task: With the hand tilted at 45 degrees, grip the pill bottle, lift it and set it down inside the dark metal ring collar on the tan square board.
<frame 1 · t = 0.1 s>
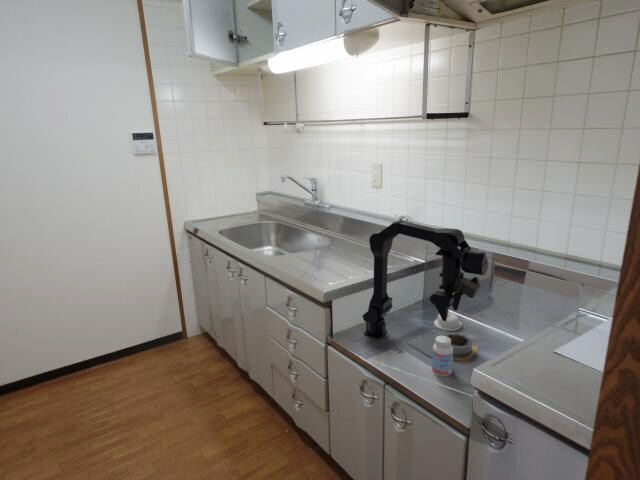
hand: (450, 315, 130), 15 cm above the worktop, tool pointing down, fingers open, 9 cm apart
mechanical component: (447, 326, 154), on the worktop
tan square board: (455, 351, 136), on the worktop
pill bottle: (442, 372, 125), on the worktop
ring collar: (455, 349, 136), resting on tan square board
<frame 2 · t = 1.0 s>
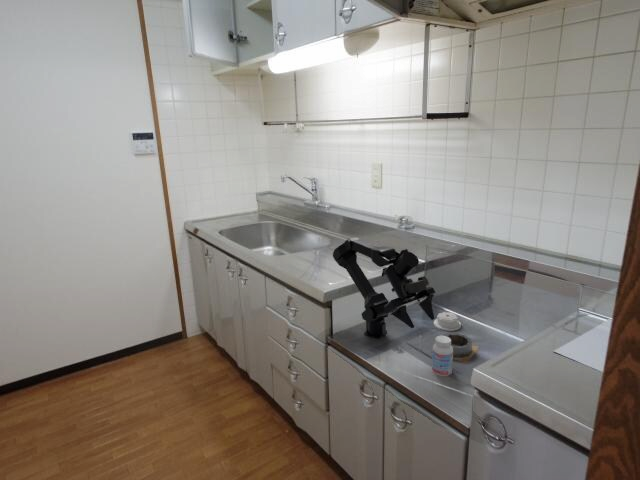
hand: (423, 323, 128), 13 cm above the worktop, tool tilted 45°, fingers open, 9 cm apart
nothing on the worktop moved.
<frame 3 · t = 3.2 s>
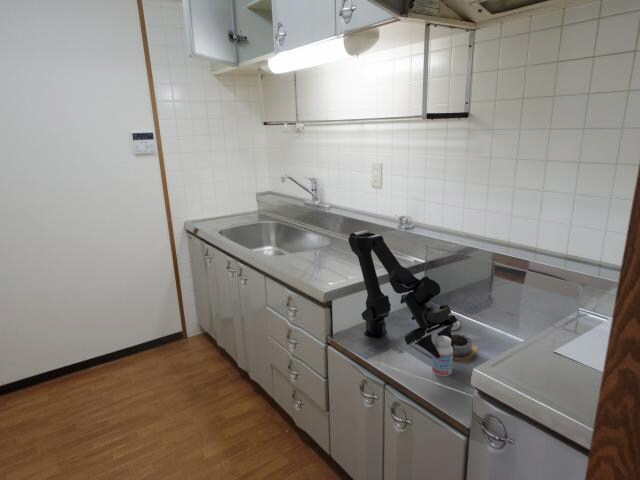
hand: (446, 354, 122), 7 cm above the worktop, tool tilted 45°, fingers closed on pill bottle, 6 cm apart
pill bottle: (442, 372, 125), on the worktop, touching gripper
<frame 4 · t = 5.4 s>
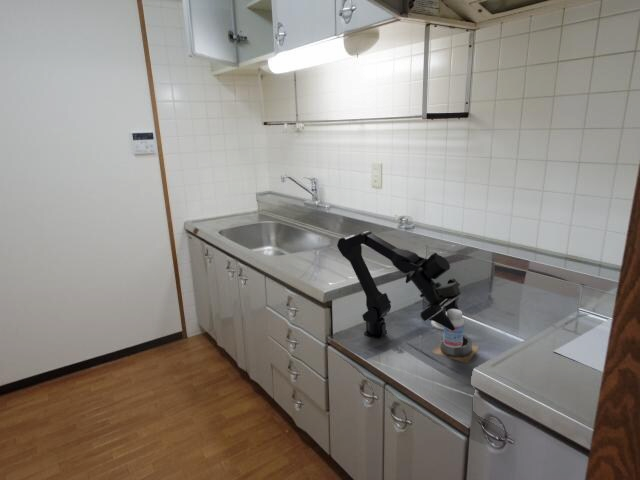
hand: (458, 326, 128), 12 cm above the worktop, tool tilted 45°, fingers closed on pill bottle, 6 cm apart
pill bottle: (452, 344, 130), point 5 cm above the worktop, touching gripper
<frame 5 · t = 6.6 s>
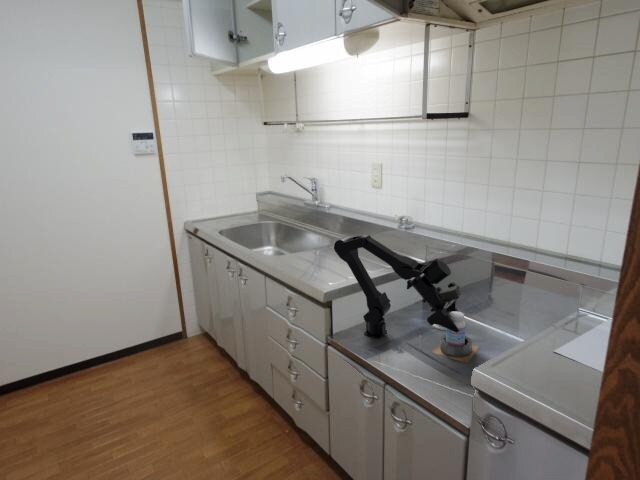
hand: (460, 327, 133), 9 cm above the worktop, tool tilted 45°, fingers closed on pill bottle, 6 cm apart
pill bottle: (455, 345, 136), point 2 cm above the worktop, touching gripper
when the fingers open (8 cm above the worktop, at t = 7.3 s): pill bottle stays where it is, resting on tan square board.
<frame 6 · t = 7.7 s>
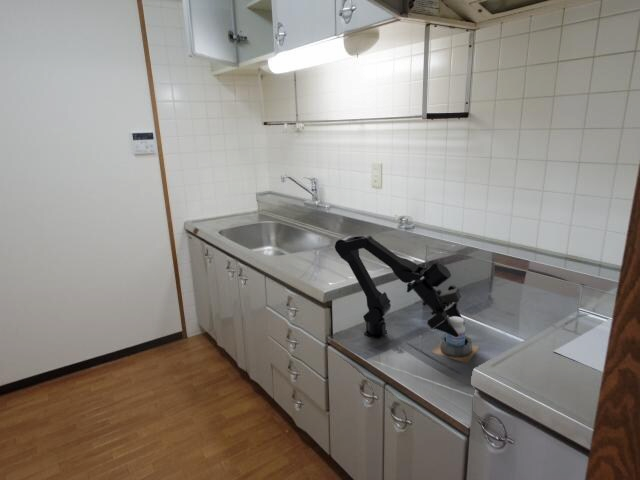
hand: (460, 330, 133), 8 cm above the worktop, tool tilted 45°, fingers open, 9 cm apart
pill bottle: (455, 350, 136), resting on tan square board
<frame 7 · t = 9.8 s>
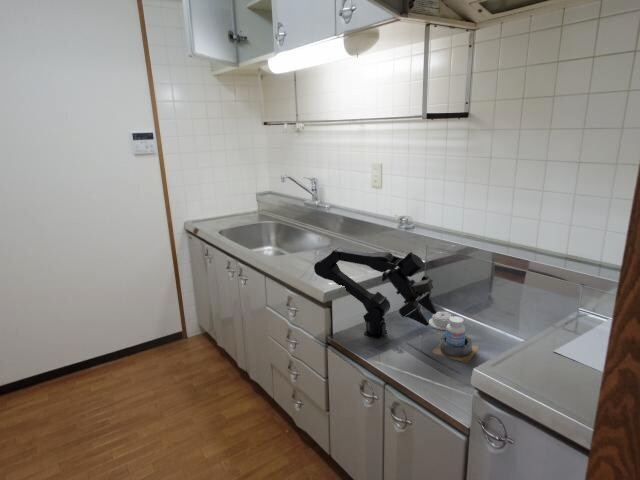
hand: (431, 319, 138), 10 cm above the worktop, tool tilted 40°, fingers open, 9 cm apart
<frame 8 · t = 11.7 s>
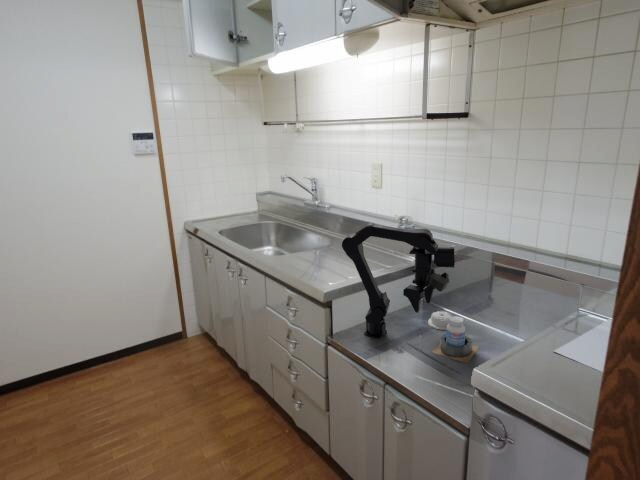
hand: (422, 307, 142), 12 cm above the worktop, tool pointing down, fingers open, 9 cm apart
at the end: pill bottle 0.2 cm off-centre on the ring collar, point 0.0 cm above the ring collar's base; pill bottle tilted 0°; the gripper is holding nothing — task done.
